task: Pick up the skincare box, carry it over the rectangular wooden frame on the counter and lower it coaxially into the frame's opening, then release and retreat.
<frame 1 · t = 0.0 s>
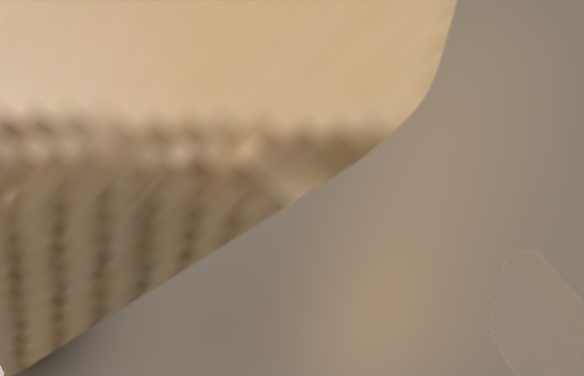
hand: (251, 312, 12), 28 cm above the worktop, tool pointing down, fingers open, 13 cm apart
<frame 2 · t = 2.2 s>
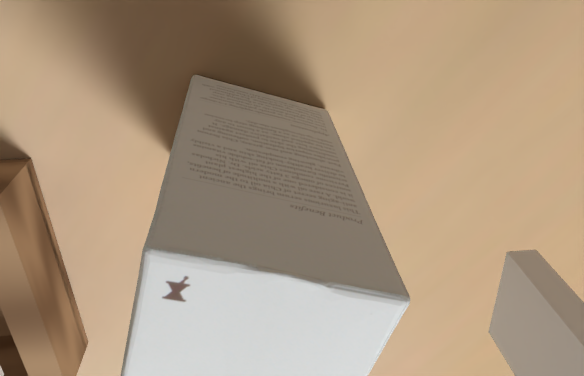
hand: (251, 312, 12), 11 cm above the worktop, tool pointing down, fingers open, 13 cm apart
skincare box: (251, 134, 22), on the worktop
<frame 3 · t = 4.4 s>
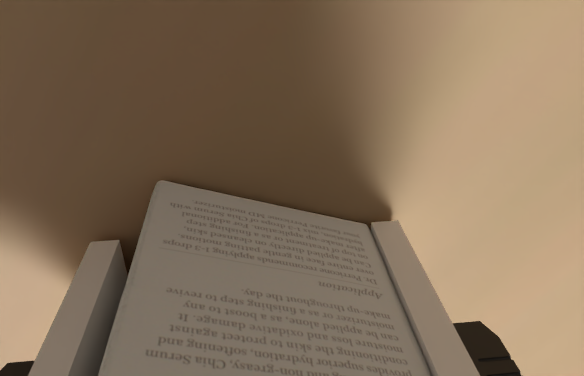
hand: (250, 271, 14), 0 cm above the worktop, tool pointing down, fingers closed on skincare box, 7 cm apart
skincare box: (251, 256, 14), on the worktop, touching gripper
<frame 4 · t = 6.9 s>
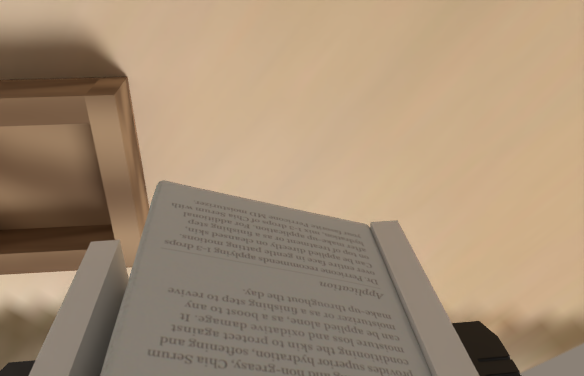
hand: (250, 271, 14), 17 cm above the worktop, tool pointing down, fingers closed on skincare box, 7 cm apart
skincare box: (252, 257, 14), point 17 cm above the worktop, touching gripper
rectangular wooden frame: (50, 167, 30), on the worktop
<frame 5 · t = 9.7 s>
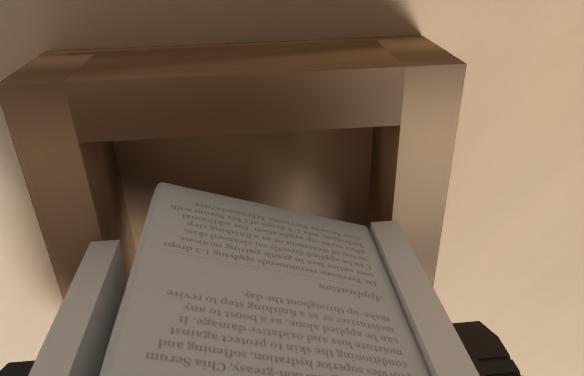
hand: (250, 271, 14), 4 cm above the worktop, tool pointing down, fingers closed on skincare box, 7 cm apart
skincare box: (251, 258, 14), point 3 cm above the worktop, touching gripper
rectangular wooden frame: (250, 204, 17), on the worktop
when the fingers open (4 cm above the worktop, at t = 9.7 s): skincare box drops 3 cm, resting on rectangular wooden frame.
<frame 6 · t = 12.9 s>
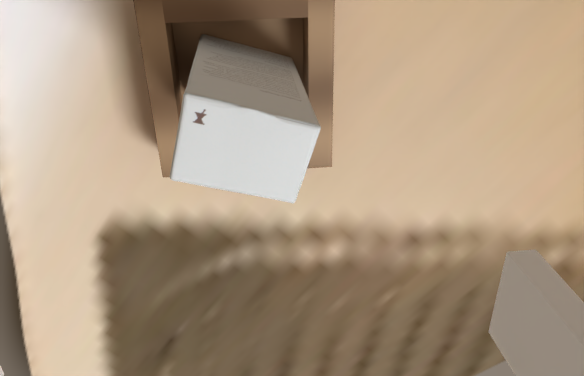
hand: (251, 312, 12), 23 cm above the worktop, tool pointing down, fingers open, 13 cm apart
skincare box: (241, 76, 32), resting on rectangular wooden frame
rectangular wooden frame: (242, 74, 32), on the worktop
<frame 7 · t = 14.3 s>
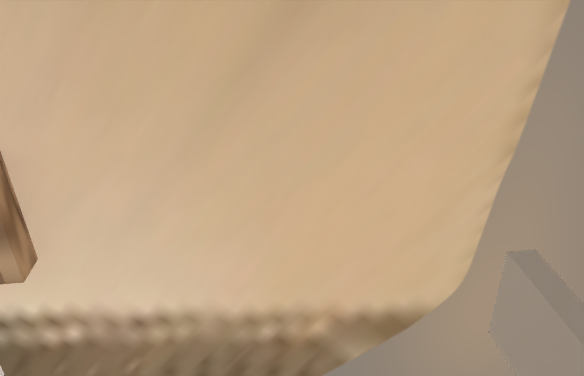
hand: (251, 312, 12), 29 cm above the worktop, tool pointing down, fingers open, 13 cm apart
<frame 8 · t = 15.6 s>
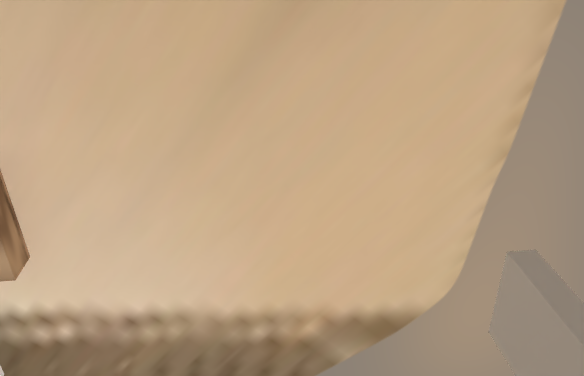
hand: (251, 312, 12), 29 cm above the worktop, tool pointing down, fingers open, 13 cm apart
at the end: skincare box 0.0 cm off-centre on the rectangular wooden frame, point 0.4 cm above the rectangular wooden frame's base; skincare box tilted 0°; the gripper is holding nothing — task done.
